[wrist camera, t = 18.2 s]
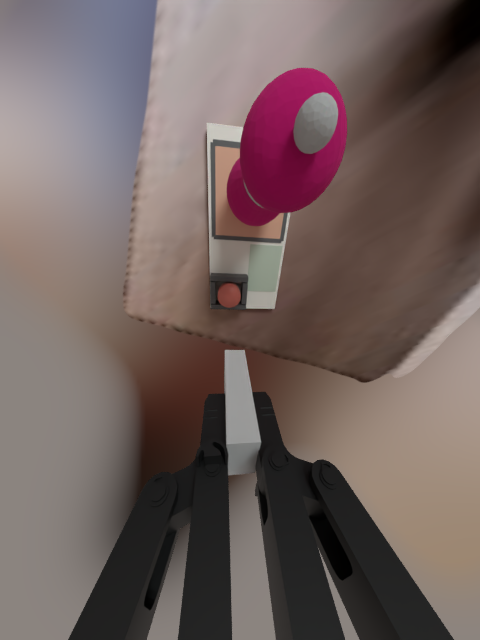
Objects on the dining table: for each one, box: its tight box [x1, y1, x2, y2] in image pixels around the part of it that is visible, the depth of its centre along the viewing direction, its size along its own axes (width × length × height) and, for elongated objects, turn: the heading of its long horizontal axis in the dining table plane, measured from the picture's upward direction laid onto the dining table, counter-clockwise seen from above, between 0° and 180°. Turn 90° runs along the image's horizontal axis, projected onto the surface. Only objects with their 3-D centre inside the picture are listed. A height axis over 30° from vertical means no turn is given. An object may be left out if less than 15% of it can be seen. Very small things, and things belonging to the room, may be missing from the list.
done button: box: [218, 282, 241, 308], centre depth 28 cm, size 4×4×2 cm
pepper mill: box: [227, 68, 347, 226], centre depth 16 cm, size 7×7×20 cm
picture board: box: [207, 123, 290, 310], centre depth 26 cm, size 12×24×3 cm, turn 177°
